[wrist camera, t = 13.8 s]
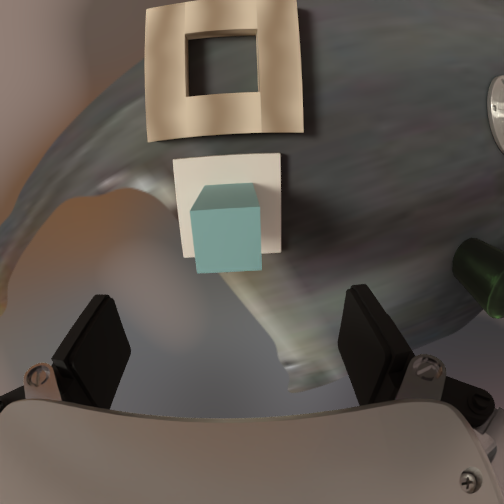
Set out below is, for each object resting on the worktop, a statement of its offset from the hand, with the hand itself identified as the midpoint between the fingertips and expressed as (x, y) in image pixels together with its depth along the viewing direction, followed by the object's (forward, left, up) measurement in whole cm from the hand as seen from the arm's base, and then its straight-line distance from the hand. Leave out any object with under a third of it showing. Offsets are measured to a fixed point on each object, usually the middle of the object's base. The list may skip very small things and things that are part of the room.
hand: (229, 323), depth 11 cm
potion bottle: (-33, +8, -19) cm, 39 cm away
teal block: (0, 0, -18) cm, 18 cm away
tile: (0, 0, -19) cm, 19 cm away
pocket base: (0, -14, -19) cm, 23 cm away
